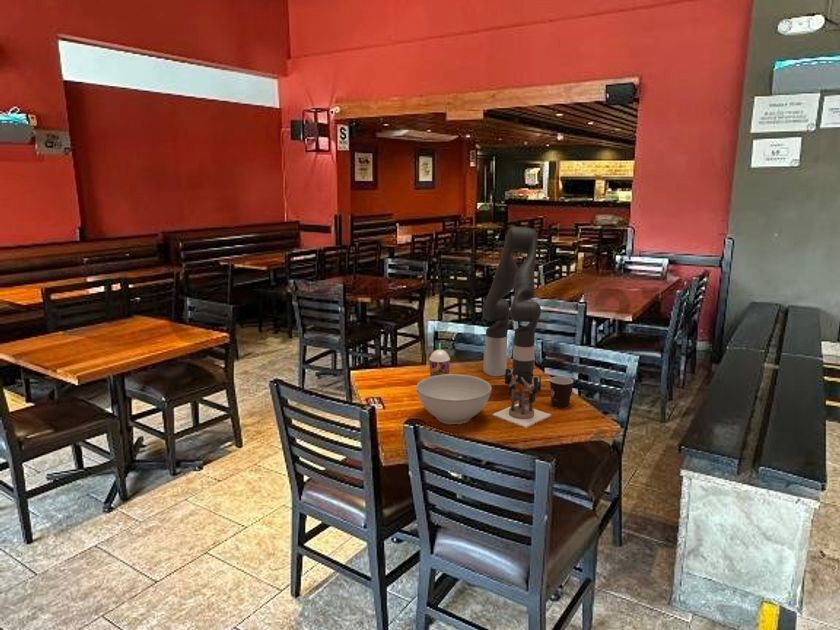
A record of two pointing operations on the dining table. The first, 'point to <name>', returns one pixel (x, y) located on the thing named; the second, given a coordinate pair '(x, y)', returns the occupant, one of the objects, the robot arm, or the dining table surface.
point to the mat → (522, 422)
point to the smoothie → (439, 362)
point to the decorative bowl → (453, 396)
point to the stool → (520, 406)
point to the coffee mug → (560, 391)
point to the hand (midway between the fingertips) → (521, 399)
